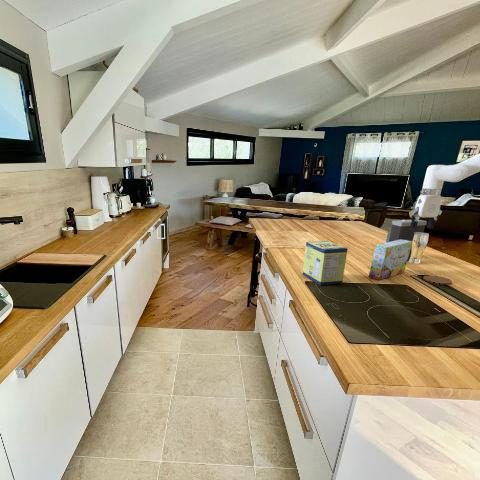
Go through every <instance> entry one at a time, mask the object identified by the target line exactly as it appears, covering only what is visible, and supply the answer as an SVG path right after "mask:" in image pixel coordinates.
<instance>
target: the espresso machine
mask: <svg viewBox="0 0 480 480" xmlns="http://www.w3.org/2000/svg"><path fill="white" fill-rule="evenodd" d="M417 221H418V224H417V228H416V229H415V230H414V229H410V225H411V219H397V220H395V219H394V220H392V221H391V229H390V230H388V231H387V235H386V239H385V243H387V242H392V241H396V240H407V241H411V238H412V235H413V233H414V232H421V233H425V228H426V226H427V224H428V221H427V220H423V219H418V220H417ZM409 254H410V252H409ZM408 258H409V256H408Z"/></svg>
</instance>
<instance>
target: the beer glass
mask: <svg viewBox="0 0 480 480" xmlns="http://www.w3.org/2000/svg"><path fill="white" fill-rule="evenodd" d="M429 237H430V234H429V233H428V232H423V233H421V232H414V233H413V235H412V238H411V241H412V245H411V249H410V254H409V258H408V260H407V263H408V264H411V265H421V264H422V257H423V254H424V252H425V250H426V248H427V246H428V242H429Z"/></svg>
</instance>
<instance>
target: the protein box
mask: <svg viewBox="0 0 480 480" xmlns="http://www.w3.org/2000/svg"><path fill="white" fill-rule="evenodd" d="M347 255H348V247H345V246H342V245H339V244H337V243H334V242H331V241H329V240H321V241H306V242H305V250H304V259H303V260H304V261H303V266H302V267H303V269H302V276H304V277H305V278H307V279H309V280H310V281H312V282H313V283H315V284H317V285H318V286H330V285H342V284H343V281H344V274H345V269H346V268H345V267H346V263H347V261H346V260H347Z"/></svg>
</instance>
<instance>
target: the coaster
mask: <svg viewBox="0 0 480 480" xmlns="http://www.w3.org/2000/svg"><path fill="white" fill-rule="evenodd" d="M422 280H423V281H425V282H427V283H431V284H436V285H444V286H445V285H451V284H452V283H453V281H452V279H450V278H447V277H444V276H439V275H424V276H423V277H422ZM429 281H430V282H429ZM433 282H435V283H433ZM439 283H440V284H439Z"/></svg>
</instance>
